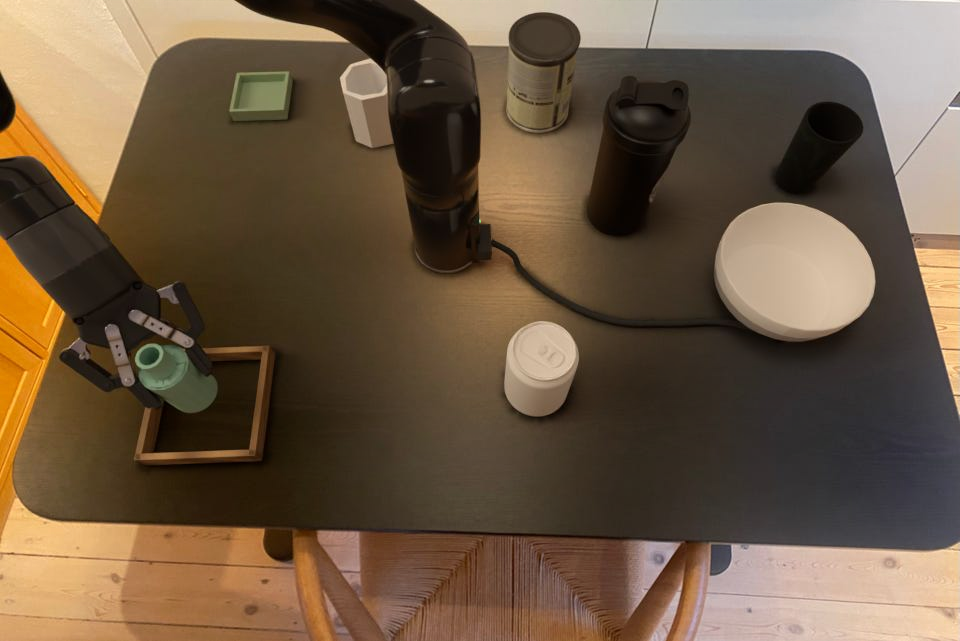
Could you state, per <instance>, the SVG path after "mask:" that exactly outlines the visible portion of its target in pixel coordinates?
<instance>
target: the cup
mask: <svg viewBox="0 0 960 641" xmlns="http://www.w3.org/2000/svg"><path fill="white" fill-rule="evenodd" d="M863 134H864V123H863V121H862V119H861V117H860V115H859V114H858V113H857V112H856V111H855V110H854V109H852V108H851V107H849V106H847V105H845V104H843V103H840V102H836V101H819V102H816V103H814V104H811V105H810V106H809V107H808V108H807V109H806V110H805V113H804V114H803V117H802V119H801V121H800V123H799V125H798V127H797V129H796V131H795V132H794V135H793V137H792V139H791V141H790V143H789V145H788V147H787V149H786V150H785V153H784V154H783V157H782V158H781V161H780V163H779V165H778V167H777V169H776V171H775V174H774V180H775V183H776V185H777V186H778V188H780V189H781V190H782V191H784V192H786V193H789V194H791V195H803V194H806V193H808V192H809V191H810V190H811V189H812V188H813V187H814V186H815V185H816V184H817V183H818V182H819V181H820V180H821V179H822V177H823V176H825V175H826V174H827V173H828V172H829V171H830V170H831V168H832V167H833V166H834V165H835V164H836V163H837V162H838V161H839V160H840V159H841V158H842V157H843V156H844V154H846V152H847V151H848V150H849V149H850V148H851V147H852V146H853V145H854V144H855V143H856V142H857V141H859V139H860V138H861V137H862V135H863Z"/></svg>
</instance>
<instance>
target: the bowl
mask: <svg viewBox="0 0 960 641" xmlns="http://www.w3.org/2000/svg"><path fill="white" fill-rule="evenodd" d="M713 265H714V266H713V279H714V284H715V288H716V290H717V293H718V295H719V298H720V299H721V301H722V302H723V304H724V305H725V307H726V309H727V310H728V312H730V313H731V314H732V315H733V317H734V318H735V319H736V321H740V322H741V323H742V324H744V325H745V326H746V327H748V328H750V329H752V330H753V331H755V332H754V333H757V334H760V335H763V336H765V337H768V338H770V339H773V340H779V341H785V342H807V341H812V340H817V339H820V338H823V337H826V336H829V335H832V334H834V333H836V332H839V331H840V330H842V329H844V328H845V327H847V326H848V325H850V324H852V323H853V322H855V321H856V320H857V319H858V318H860V317H861V316H862V315H863V314H864V313H865V312H866V310H867V309H868V308H869V307H870V304H871V301H872V300H873V297H874V294H875V288H876V274H875V273H876V272H875V268H874V264H873V262H872V259H871V256H870V255H869V253H868V250H867V249H866V247H865V246H864V244H863V243H862V242H861V241H860V239H859V238H858V237H857V235H856V234H855V233H854V232H853V231H851V230H850V229H849V227H847V226H846V225H845V224H844V223H842V222H840V221H839V220H837V219H836V218H835V217H833V216H832V215H829V214H827V213H825V212H824V211H821V210H819V209H817V208H814V207H810V206H807V205H804V204H800V203H799V204H798V203H792V202H770V203H764V204H760V205H757V206H754V207H751V208H748V209H747V210H745V211H743V212H741V213H740V214H739V215H737V216H735V218H734V219H733V220H732V221H731V222H730V223H729V224H728V225H727V228H726V229H725V231H724V232H723V235H722V237H721V239H720V241H719V243H718V246H717V248H716V253H715V259H714V264H713ZM753 331H752V332H753Z"/></svg>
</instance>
